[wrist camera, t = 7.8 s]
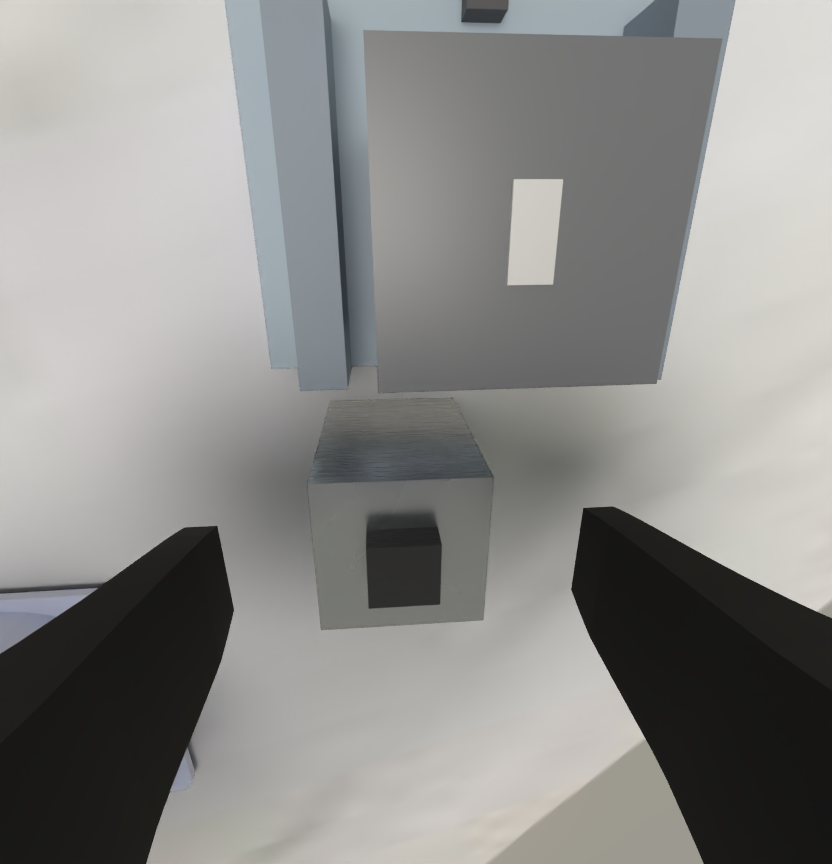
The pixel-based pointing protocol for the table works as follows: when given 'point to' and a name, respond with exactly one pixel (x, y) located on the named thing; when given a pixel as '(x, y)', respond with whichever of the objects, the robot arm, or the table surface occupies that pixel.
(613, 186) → the block
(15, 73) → the table surface
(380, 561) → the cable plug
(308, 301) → the blue-grey panel
